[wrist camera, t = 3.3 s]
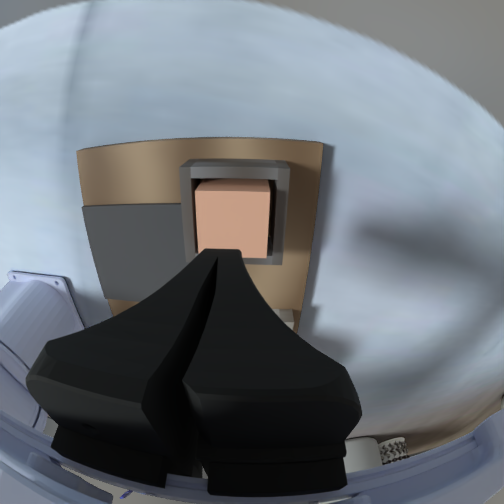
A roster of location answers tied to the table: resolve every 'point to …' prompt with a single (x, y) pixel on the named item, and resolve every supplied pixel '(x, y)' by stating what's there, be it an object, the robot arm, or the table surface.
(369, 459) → the cylinder vase
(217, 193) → the peach square block
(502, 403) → the glass bottle
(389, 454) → the decorative candle
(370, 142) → the table surface
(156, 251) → the rubber mat
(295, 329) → the base board
